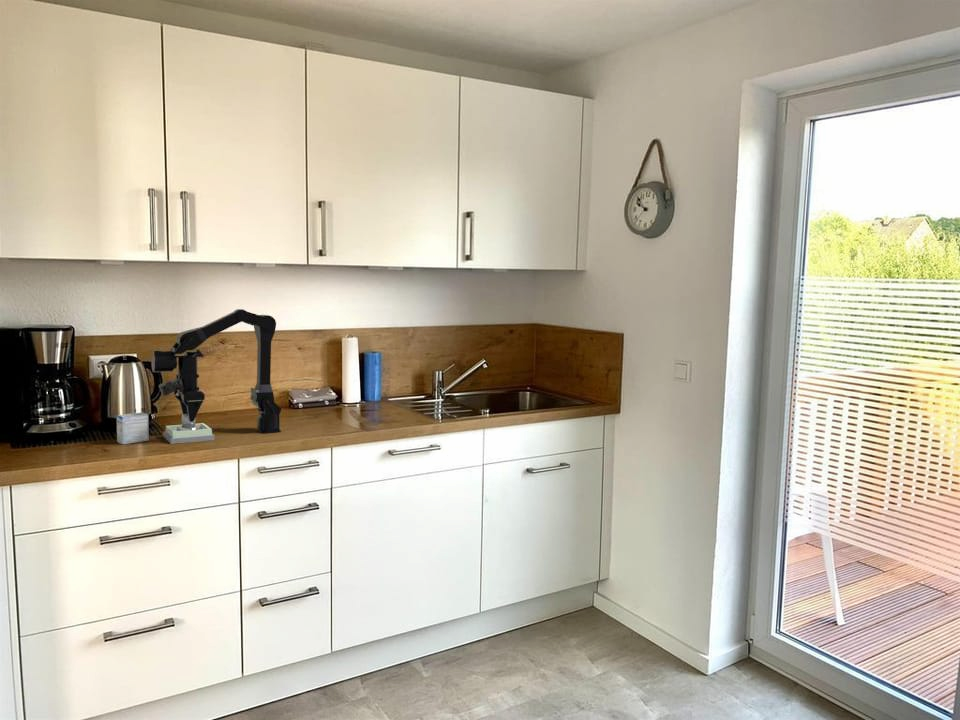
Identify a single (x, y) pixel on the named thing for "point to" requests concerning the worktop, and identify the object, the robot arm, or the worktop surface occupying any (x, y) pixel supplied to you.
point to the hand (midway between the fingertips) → (188, 419)
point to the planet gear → (187, 424)
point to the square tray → (188, 434)
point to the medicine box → (132, 428)
